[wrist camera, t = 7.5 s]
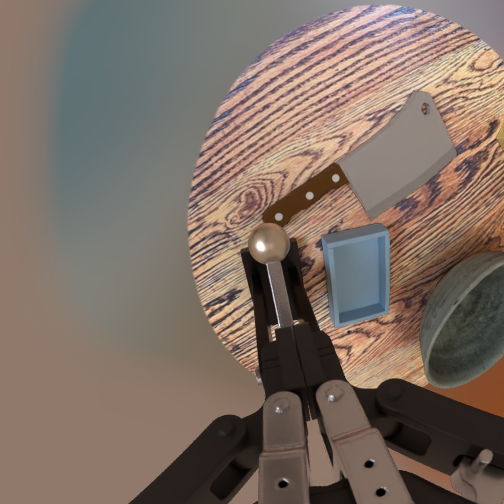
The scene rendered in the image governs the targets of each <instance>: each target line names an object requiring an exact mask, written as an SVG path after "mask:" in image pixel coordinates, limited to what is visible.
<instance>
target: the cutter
mask: <svg viewBox="0 0 504 504" xmlns="http://www.w3.org/2000/svg"><path fill="white" fill-rule="evenodd" d="M241 257H242V261H243V265H244V269H245V273H246V277H247V281H248V285H249V289H250V293H251V297H252V301H253V305H254V316H255V328H256V339H257V350H258V362H259V368H257V369H256V370H255V372H256V378H257V382H258V385H263V387H264V390H265V386H264V376H263V366H262V357H261V351H262V348H263V346H264V344H265V343H267V342H272V341H273V339H272V333H271V327H270V325H275V324H278V319H277V314H276V309H275V304H274V300H273V295H272V290H271V285H270V281H269V276H268V271H267V266H266V264H262V263H260V262H258V261H257V260H255V259H254V258H253V256H252V255H251V253H250V251H249V248H245V249H241ZM281 266H282V271H283V275H284V280H285V285H286V289H287V294H288V299H289V304H290V309H291V314H292V318H293V321H294V320H299V323H300V324H301V323H305V322H308V323H309V326H310V329H311V332H312V333H313V332H317V331H320V328H319V326H318V323H317V320H316V318H315V315H314V312H313V309H312V307H311V304H310V301H309V299H308V296H307V293H306V291H305V288H304V284H303V278H302V271H301V265H300V259H299V253H298V246H297V241H296V239H295V238H291V239H290V248H289V252H288V254H287V255H286V257H285V258H284V259H283V260H282V261H281Z"/></svg>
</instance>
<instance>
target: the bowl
mask: <svg viewBox="0 0 504 504" xmlns="http://www.w3.org/2000/svg"><path fill="white" fill-rule="evenodd" d="M419 339H420V349H421V354H422V360H423V363H424V372H425V376H426V378H427V380H428V382H429V383H431V384H432V385H433V386H435V387H439V388H453V387H456V386H460V385H463V384H465V383H467V382H469V381H471V380H473V379H475V378H476V377H478V376H479V375H481V374H482V373H484V372H485V371H486V370H488V369H489V368H490V367H492V366H493V365H494V364H495V363H496V362H497V361H498V360H499V359H500V358H501V357H502V356H503V355H504V252H496V251H486V252H482V253H477V254H474V255H472V256H470V257H468V258H466V259H464V260H462V261H461V262H460V263H458V264H457V265H456V266H454V267H453V268H452V269H451V270H450V271H448V272H447V273H446V274H445V275H444V276H443V277H442V278H441V280H440V281H439V282H438V284H437V286H436V287H435V289H434V291H433V292H432V294H431V296H430V298H429V300H428V302H427V304H426V307H425V309H424V312H423V315H422V318H421V324H420V331H419Z"/></svg>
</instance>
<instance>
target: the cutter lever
mask: <svg viewBox="0 0 504 504" xmlns="http://www.w3.org/2000/svg"><path fill="white" fill-rule="evenodd" d="M248 247H249V251H250V253H251V255H252V256H253V258H254V259H255V260H257V261H258V262H260V263H262V264H266V266H267V271H268V276H269V281H270V285H271V290H272V295H273V300H274V304H275V309H276V314H277V319H278V324H279V328H283V327H288V326H291V329H292V325H294V323H293V318H292V314H291V309H290V304H289V299H288V294H287V289H286V285H285V280H284V275H283V271H282V266H281V261H282V260H283V259H284V258H285V257H286V255H287V254H288V252H289V248H290V239H289V236H288V234H287V232H286V231H285V230H284V229H283V228H282V227H281V226H279V225H277V224H274V223H264V224H261V225H259V226H257V227H256V228H255V229H254V230H253V231H252V232H251V234H250V237H249V240H248ZM292 333H293V329H292ZM293 337H294V335H293ZM294 341H295V340H294Z"/></svg>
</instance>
